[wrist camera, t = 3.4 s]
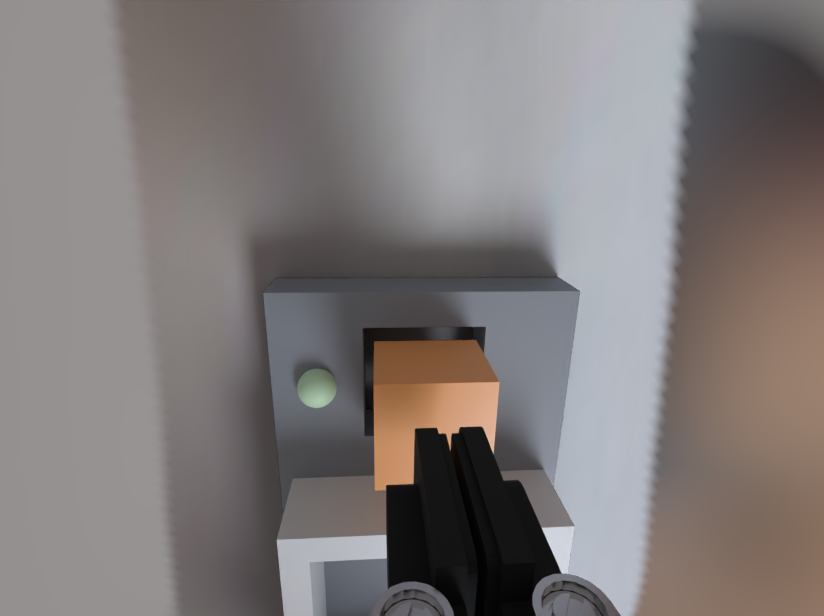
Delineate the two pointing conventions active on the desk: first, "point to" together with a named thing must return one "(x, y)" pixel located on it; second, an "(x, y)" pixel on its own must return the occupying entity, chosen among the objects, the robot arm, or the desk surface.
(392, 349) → the button
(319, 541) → the panel
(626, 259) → the desk surface
